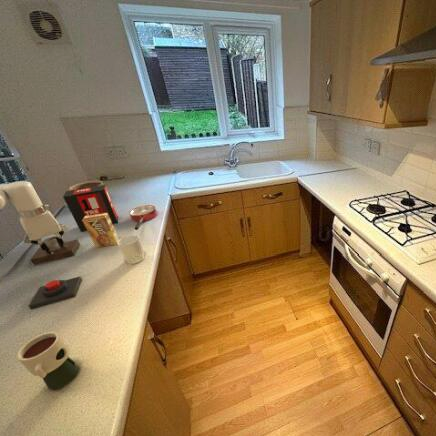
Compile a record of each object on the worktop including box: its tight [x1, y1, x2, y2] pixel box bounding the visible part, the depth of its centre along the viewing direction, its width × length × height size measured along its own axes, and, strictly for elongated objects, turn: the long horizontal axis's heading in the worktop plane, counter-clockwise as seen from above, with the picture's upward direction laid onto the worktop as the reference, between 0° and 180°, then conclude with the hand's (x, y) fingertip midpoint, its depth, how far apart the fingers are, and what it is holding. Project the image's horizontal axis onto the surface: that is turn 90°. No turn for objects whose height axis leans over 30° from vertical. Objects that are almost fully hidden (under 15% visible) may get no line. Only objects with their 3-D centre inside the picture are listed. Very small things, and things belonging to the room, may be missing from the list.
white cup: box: [116, 234, 145, 265], centre depth 101 cm, size 8×8×10 cm
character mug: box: [16, 331, 80, 390], centre depth 58 cm, size 11×7×13 cm, turn 33°
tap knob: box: [42, 236, 61, 252], centre depth 105 cm, size 4×4×5 cm
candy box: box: [82, 213, 120, 249], centre depth 111 cm, size 9×4×15 cm, turn 110°
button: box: [44, 279, 61, 291], centre depth 85 cm, size 4×4×2 cm
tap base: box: [29, 239, 81, 266], centre depth 107 cm, size 14×10×3 cm
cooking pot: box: [68, 180, 109, 193], centre depth 156 cm, size 25×19×12 cm
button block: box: [28, 276, 83, 310], centre depth 86 cm, size 12×10×4 cm
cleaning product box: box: [62, 184, 119, 233], centre depth 128 cm, size 16×9×20 cm, turn 123°
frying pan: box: [129, 204, 158, 231], centre depth 130 cm, size 32×13×6 cm, turn 29°
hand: (54, 247), depth 106 cm, fingers closed on tap knob, 4 cm apart
